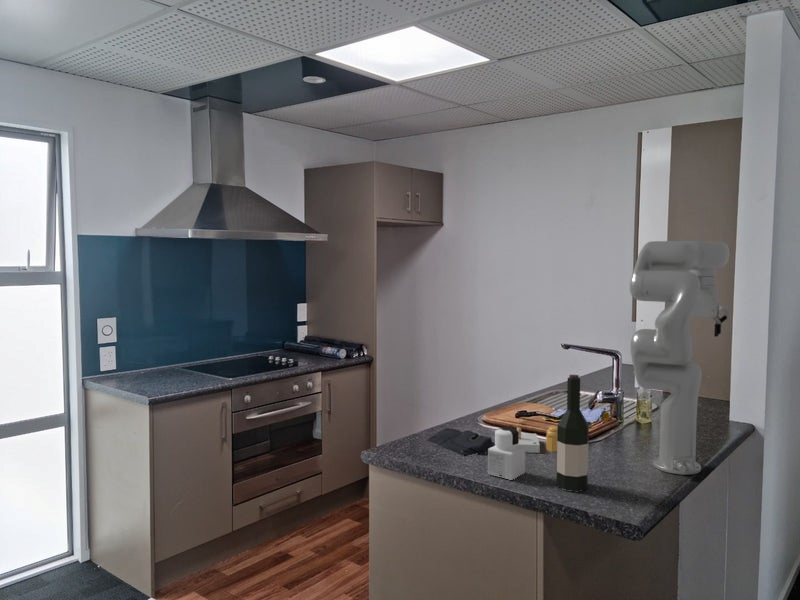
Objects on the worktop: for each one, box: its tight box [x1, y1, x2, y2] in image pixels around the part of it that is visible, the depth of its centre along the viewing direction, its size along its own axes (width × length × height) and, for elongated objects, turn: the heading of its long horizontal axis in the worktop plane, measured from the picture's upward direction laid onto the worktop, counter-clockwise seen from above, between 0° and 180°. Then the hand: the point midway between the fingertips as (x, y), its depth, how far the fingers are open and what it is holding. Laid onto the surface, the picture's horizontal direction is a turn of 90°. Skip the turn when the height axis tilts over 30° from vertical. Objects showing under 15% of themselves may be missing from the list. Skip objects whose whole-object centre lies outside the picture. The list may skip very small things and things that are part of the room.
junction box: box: [516, 426, 541, 454], centre depth 203 cm, size 18×12×6 cm, turn 173°
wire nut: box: [545, 425, 558, 453], centre depth 197 cm, size 5×5×7 cm
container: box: [487, 427, 526, 481], centre depth 175 cm, size 8×8×13 cm
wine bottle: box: [556, 374, 590, 491], centre depth 165 cm, size 8×8×30 cm
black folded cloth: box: [426, 427, 495, 456], centre depth 203 cm, size 15×22×5 cm
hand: (700, 335), depth 201 cm, fingers open, 9 cm apart
